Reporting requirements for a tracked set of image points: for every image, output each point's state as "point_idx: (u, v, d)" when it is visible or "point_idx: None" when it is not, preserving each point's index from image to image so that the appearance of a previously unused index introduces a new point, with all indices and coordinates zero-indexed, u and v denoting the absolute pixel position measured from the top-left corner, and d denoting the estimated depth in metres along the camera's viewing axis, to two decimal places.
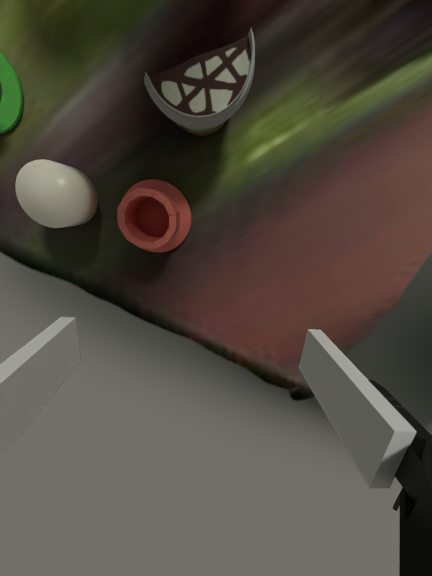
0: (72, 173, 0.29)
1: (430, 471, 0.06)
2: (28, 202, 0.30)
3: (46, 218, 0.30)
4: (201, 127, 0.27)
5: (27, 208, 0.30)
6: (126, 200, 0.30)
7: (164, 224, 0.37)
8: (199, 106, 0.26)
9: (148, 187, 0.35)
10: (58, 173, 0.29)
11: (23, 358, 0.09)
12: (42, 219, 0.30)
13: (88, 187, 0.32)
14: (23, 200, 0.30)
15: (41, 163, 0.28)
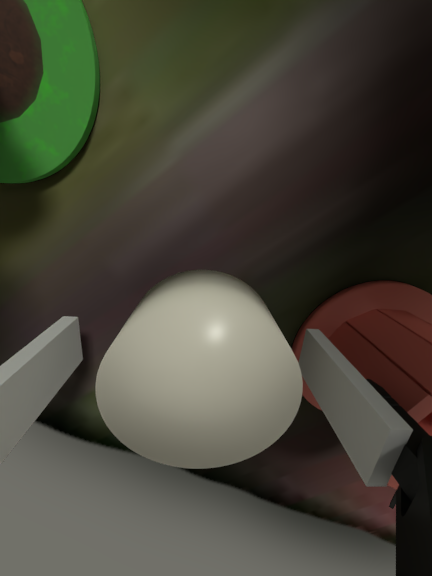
0: (281, 335, 0.09)
1: (426, 469, 0.06)
2: (131, 418, 0.09)
3: (177, 449, 0.10)
4: None
5: (126, 432, 0.10)
6: (428, 405, 0.10)
7: None
8: None
9: (376, 301, 0.15)
10: (245, 344, 0.08)
11: (26, 357, 0.09)
12: (164, 453, 0.10)
13: None
14: (116, 414, 0.09)
15: (194, 316, 0.08)
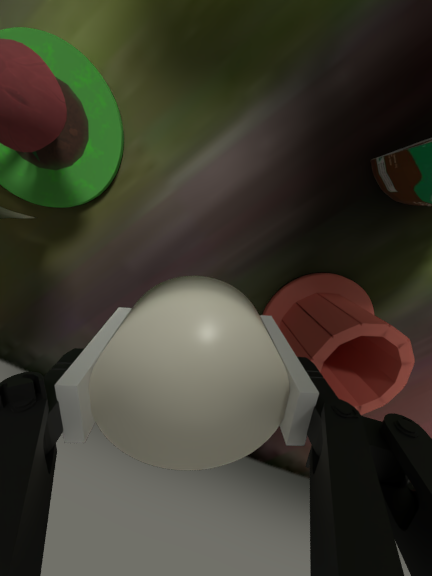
0: (268, 339, 0.09)
1: (326, 429, 0.07)
2: (124, 422, 0.10)
3: (169, 452, 0.10)
4: None
5: (119, 436, 0.10)
6: (332, 344, 0.16)
7: None
8: None
9: (316, 287, 0.21)
10: (232, 349, 0.09)
11: (104, 340, 0.11)
12: (157, 456, 0.10)
13: None
14: (109, 418, 0.10)
15: (182, 322, 0.08)
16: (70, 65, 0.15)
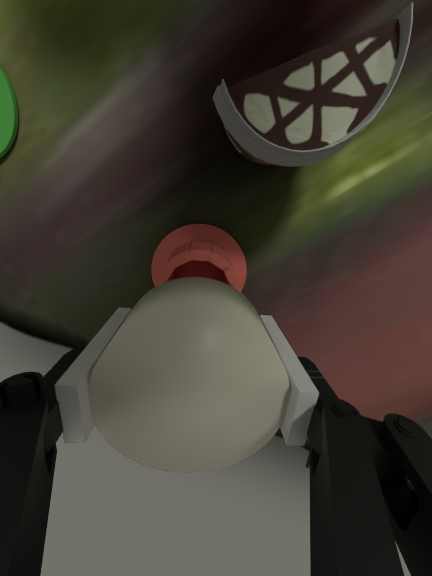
0: (268, 341, 0.09)
1: (326, 429, 0.07)
2: (123, 424, 0.10)
3: (169, 454, 0.10)
4: (296, 164, 0.17)
5: (119, 438, 0.10)
6: (169, 266, 0.20)
7: None
8: (301, 134, 0.16)
9: (191, 234, 0.26)
10: (233, 351, 0.09)
11: (104, 340, 0.11)
12: (156, 458, 0.10)
13: None
14: (109, 420, 0.10)
15: (182, 324, 0.08)
16: None
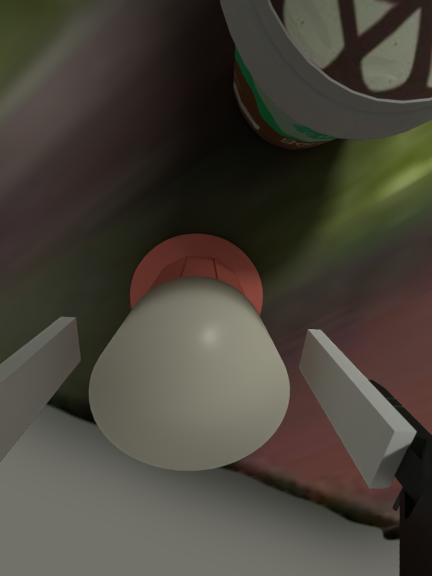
0: (268, 339, 0.09)
1: (430, 471, 0.06)
2: (124, 422, 0.10)
3: (170, 452, 0.10)
4: (369, 135, 0.10)
5: (120, 436, 0.10)
6: None
7: None
8: (390, 72, 0.08)
9: (186, 249, 0.18)
10: (233, 348, 0.09)
11: (23, 358, 0.09)
12: (157, 456, 0.10)
13: None
14: (109, 418, 0.10)
15: (183, 322, 0.08)
16: None
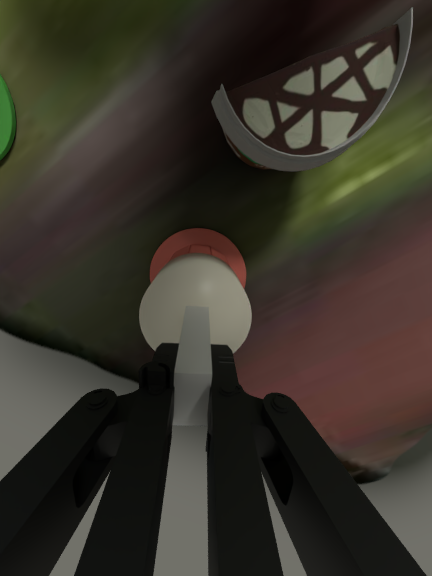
0: (238, 283, 0.17)
1: (213, 413, 0.08)
2: (157, 331, 0.17)
3: None
4: (296, 169, 0.17)
5: (154, 341, 0.17)
6: None
7: None
8: (301, 139, 0.16)
9: (190, 239, 0.25)
10: (218, 286, 0.16)
11: (191, 334, 0.12)
12: None
13: None
14: (149, 328, 0.17)
15: (191, 270, 0.16)
16: None
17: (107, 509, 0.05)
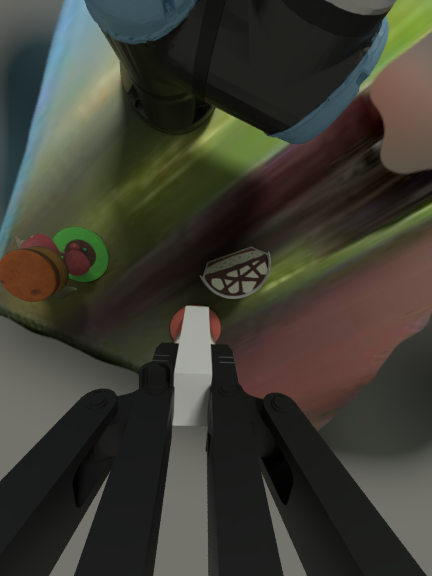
0: None
1: (213, 413, 0.08)
2: None
3: None
4: None
5: None
6: None
7: None
8: (234, 290, 0.40)
9: None
10: None
11: (191, 334, 0.12)
12: None
13: None
14: None
15: None
16: (89, 237, 0.44)
17: (107, 509, 0.05)
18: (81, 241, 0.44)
